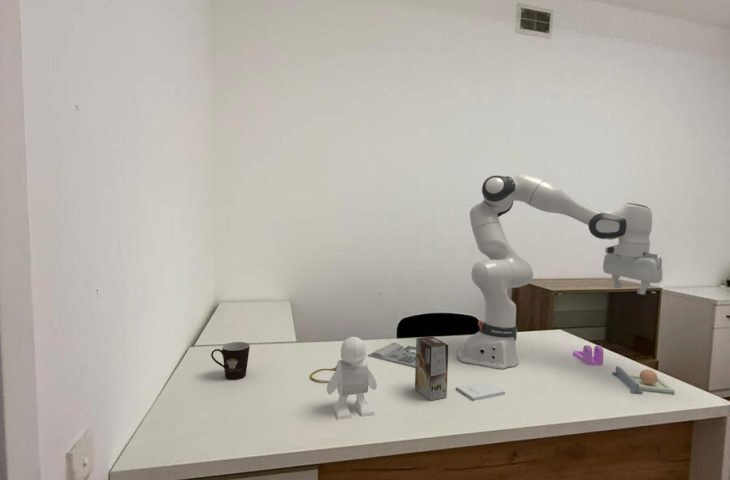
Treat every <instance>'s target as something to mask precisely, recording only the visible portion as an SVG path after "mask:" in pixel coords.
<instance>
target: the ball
mask: <svg viewBox="0 0 730 480" xmlns="http://www.w3.org/2000/svg"><path fill="white" fill-rule="evenodd" d="M639 376H640V379H641V380H642V381H643V382H644V383H645V384H648V385H652V384H655V383H656V382H657V380H658V378H659V377H658V375H657V374H656V372H655V371H653V370H651V369H642V370H641V371H640V373H639Z"/></svg>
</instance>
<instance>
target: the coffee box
mask: <svg viewBox="0 0 730 480" xmlns="http://www.w3.org/2000/svg"><path fill="white" fill-rule="evenodd" d="M415 343H416V344H415V347H416V350H415V353H416V368H414V370H415V372H414V373H415V374H414V375H415V377H414V389H415V390H416V391H417V392H419V393H420V395H422V396H424V398H426V399H427V400H429V401H435V400H441V399H446V398H448V375H449V374H448V373H449V371H448V367H449V345H450V344H449V343H447V342H444V341H442V340H440V339H438V338H436V337H434V336H422V337H418V338H416V341H415Z"/></svg>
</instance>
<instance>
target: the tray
mask: <svg viewBox="0 0 730 480" xmlns="http://www.w3.org/2000/svg"><path fill="white" fill-rule="evenodd" d="M628 375H629V376H630V377H631V378H633V379H634V380H635V381H636V382H637V383H638V384H639V390H641V391H642V392H648V393H649V392H650V393H657V394H665V395H675V389H674V388H673V387H671V386H669V385H668V384H667V383H666V382H665V381H663V380H662V379H661V378H659V377H658V380H657V382H656V383H655V384H652V385H648V384H645V383H644V382H643V381H642V380H641V379H640V375H636V374H635V375H633V374H628Z"/></svg>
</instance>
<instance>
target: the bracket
mask: <svg viewBox="0 0 730 480" xmlns="http://www.w3.org/2000/svg"><path fill="white" fill-rule="evenodd" d="M572 356H573V357H575V358H577V359H578V360H579V361H581V362H583V363H584V364H586V365H587V366H602V365H604V348H603V347H602V346H601V345H595V346H594V348H592V347H591V345H584V346H583V348H582V350H573V351H572Z"/></svg>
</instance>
